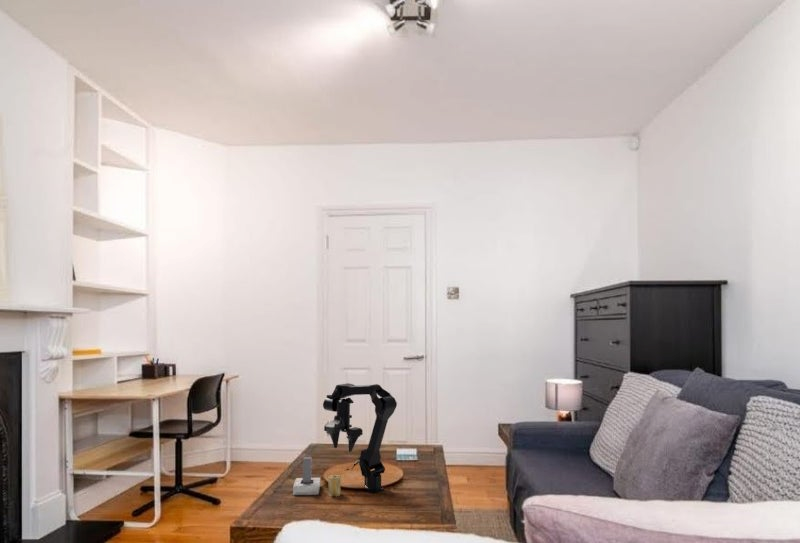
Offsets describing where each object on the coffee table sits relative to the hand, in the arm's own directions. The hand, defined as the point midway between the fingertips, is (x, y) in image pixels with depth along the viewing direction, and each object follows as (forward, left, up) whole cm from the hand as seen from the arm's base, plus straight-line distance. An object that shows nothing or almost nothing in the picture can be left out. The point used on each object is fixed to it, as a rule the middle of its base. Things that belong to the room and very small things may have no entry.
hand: (342, 449), depth 225 cm
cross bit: (-10, +14, -13) cm, 22 cm away
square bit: (+2, +18, -13) cm, 22 cm away
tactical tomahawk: (+13, -21, -14) cm, 28 cm away
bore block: (+2, +18, -13) cm, 22 cm away
